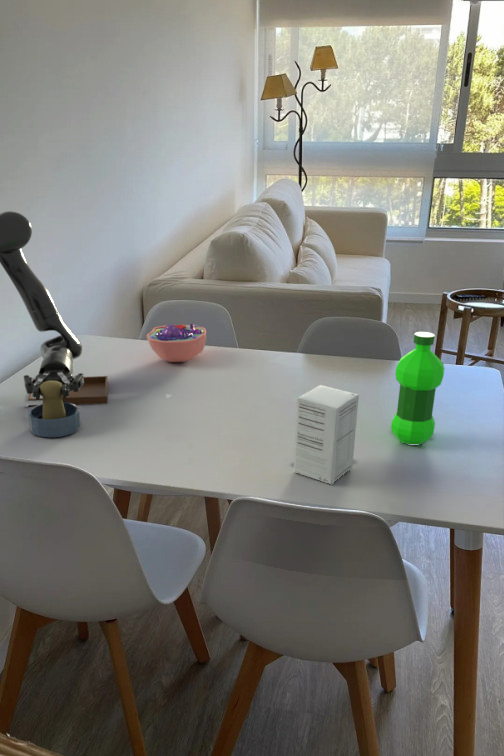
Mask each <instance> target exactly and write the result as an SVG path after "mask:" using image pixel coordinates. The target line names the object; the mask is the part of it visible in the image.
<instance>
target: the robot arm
mask: <svg viewBox="0 0 504 756" xmlns="http://www.w3.org/2000/svg"><path fill="white" fill-rule="evenodd" d="M32 233H33V228H32V224H31V223H30V221H29V219H28V218H27V217H26V216H25V215H24V214H21V213H19V212H17V211H12V210H6V211H2V212H0V265H1V266H2V268H3V270H4V271H5V272H6V274H7V276H8V277H9V279H10V281H11V282H12V284H13V286H14V287H15V290H17V291H16V292H18V295H19V296H20V298H21V300H22V302H23V304H24V306H25V309H26V310H27V312H28V315H29V316H30V319H31V321H32V323H33V325H34V327H35V329H36V330H37V331H38V332H41V333H45V332H53V331H54V332H57V333H58V334H59V335H57V336H55V337H53V338H50V339H47V340H45V341H43V342H42V344H40V346H39V351H40V355H41V357H42V361H41V364H40V367H39V371H38V374H36V376H34V377H32V376H30V375H28V374H25V375H23V382H24V383H23V384H24V388H25V391H26V394H28V395H29V394H31V393H32V398H36V399H40V398H41V394H40V385H41V384H42V383H43V382H46V381H51V380H52V381H58V382H60V383H61V384H62V386H63V388H62V393H63V398H66V397H67V396H69V395H70V392H71V391H72V390H73V391H74V392H78V391H79V390H80V389H81V387H82V386H83V385H84V377H85V376H84V373H82V372H80V373H77V374H76V375H73V373H74V365H73V364H74V360H76V359H78V358H79V357H81V356H82V353H83V345H82V343H81V340H79V338H78V337H77V336H76V334H75V333H74V332H73V331H72V330H71V328H69V326H68V325H67V324H66V322H65V321H64V319H63V318H62V316H61V314H60V312H59V310H58V307H57V305H56V303H55V301H54V298H53V297H52V295H51V293H50V291H49V290H48V288H47V287H46V286H45V285H44V284H43V282H42V281H41V280H40V279H39V278H38V276H37V275H36V273H35V272H34V271H33V270H32V268H31V267H30V265H29V263H28V262H27V260H26V258H25V256H24V253H23V250H22V249H23V248H24V247H26V246H27V244H28V243H29V242H30V241H31V238H32V236H33V235H32ZM72 382H73V383H72Z"/></svg>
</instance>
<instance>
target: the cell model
mask: <svg viewBox="0 0 504 756" xmlns="http://www.w3.org/2000/svg"><path fill="white" fill-rule="evenodd" d="M146 339H147V342H148V344H149V347H150V349H151V350H152V351H153V352H154V353H155V355H156V356H157V357H159V358H160V359H162V360H163V361H166V362H168V363H183V362H187V361H190V360H193V359H194V358H195V357H197V356H198V355H200V354H201V353H203V351H204V349H205V347H206V341H207V330H206V328H205V327H203V326H199V325H197V324H193V323H190V324H167V325H160V326H155V327H153V328H152V330H150V332H148V333H147V334H146Z"/></svg>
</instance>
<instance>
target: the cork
mask: <svg viewBox="0 0 504 756" xmlns="http://www.w3.org/2000/svg"><path fill="white" fill-rule="evenodd" d="M62 388H63V386H62V384H61V383H60V382H58V381H52V380H51V381H46V382H43V383H42V384H41V385H40V394H41V395H40V397H41V398H43V400H42V404H43V415H42V419H46V420H50V419H60V418H65V417H67V416H66V412H65V408H64V404H63V400H62V394H63V393H62Z"/></svg>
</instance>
